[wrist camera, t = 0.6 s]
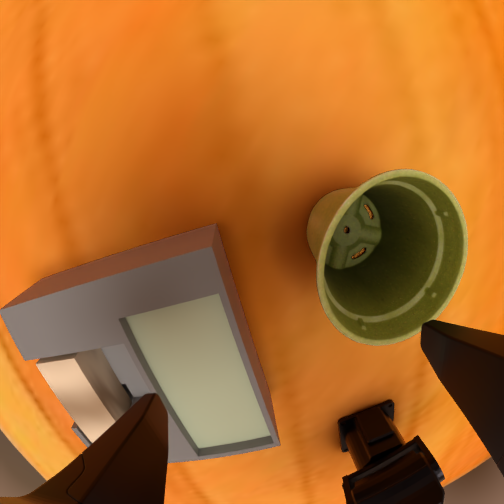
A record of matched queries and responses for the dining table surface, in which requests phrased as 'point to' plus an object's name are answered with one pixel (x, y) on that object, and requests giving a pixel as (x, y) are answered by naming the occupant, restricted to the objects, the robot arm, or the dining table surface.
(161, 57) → the dining table surface
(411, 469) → the robot arm
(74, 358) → the maple block
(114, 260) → the jig board
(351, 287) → the plant pot
